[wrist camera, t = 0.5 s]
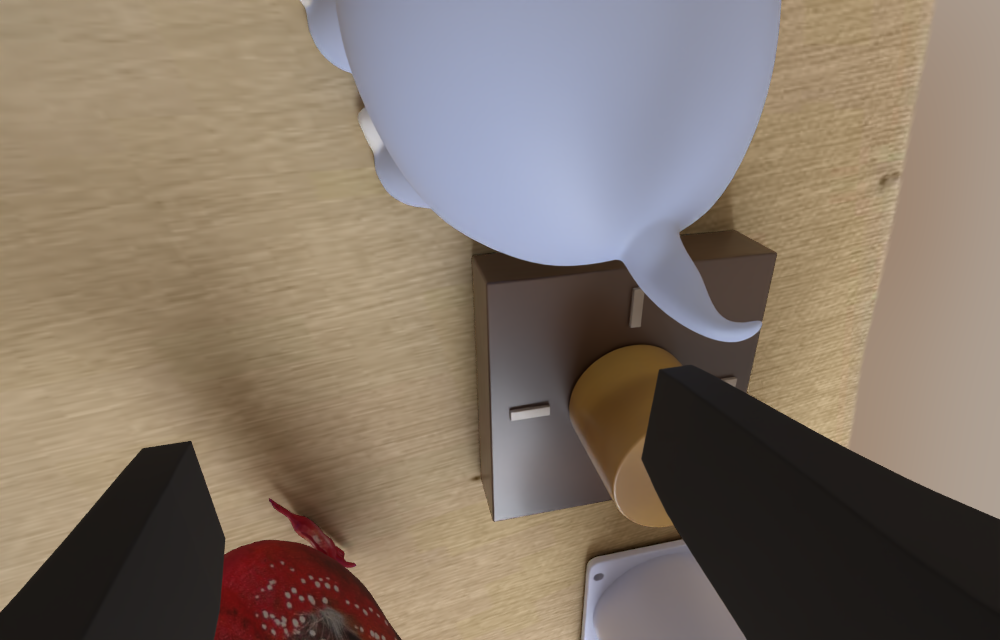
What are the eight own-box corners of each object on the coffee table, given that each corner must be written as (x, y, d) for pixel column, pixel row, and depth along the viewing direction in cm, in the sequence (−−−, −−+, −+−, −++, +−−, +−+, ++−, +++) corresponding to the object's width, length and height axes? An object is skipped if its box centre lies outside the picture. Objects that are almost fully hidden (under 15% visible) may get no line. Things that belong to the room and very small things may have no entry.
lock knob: (675, 436, 22) (740, 521, 18) (565, 455, 21) (611, 547, 17) (691, 336, 20) (768, 408, 16) (570, 352, 19) (623, 431, 15)
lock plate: (697, 441, 26) (730, 481, 24) (480, 478, 24) (493, 526, 22) (735, 229, 21) (781, 254, 19) (471, 254, 19) (486, 285, 17)
